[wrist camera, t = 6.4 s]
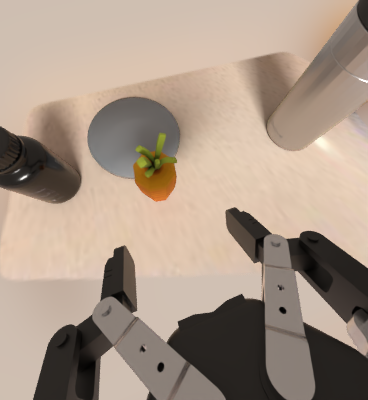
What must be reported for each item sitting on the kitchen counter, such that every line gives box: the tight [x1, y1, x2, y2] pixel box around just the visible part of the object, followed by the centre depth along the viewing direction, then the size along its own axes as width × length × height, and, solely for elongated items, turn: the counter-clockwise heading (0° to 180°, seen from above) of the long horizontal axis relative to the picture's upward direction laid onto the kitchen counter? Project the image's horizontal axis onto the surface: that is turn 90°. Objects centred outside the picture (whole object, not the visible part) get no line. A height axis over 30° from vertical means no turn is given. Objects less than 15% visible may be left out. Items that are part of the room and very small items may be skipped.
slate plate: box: [88, 98, 180, 179], centre depth 31 cm, size 16×16×1 cm
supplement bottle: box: [0, 127, 80, 204], centre depth 23 cm, size 7×7×12 cm
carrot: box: [133, 133, 177, 202], centre depth 22 cm, size 5×5×15 cm
